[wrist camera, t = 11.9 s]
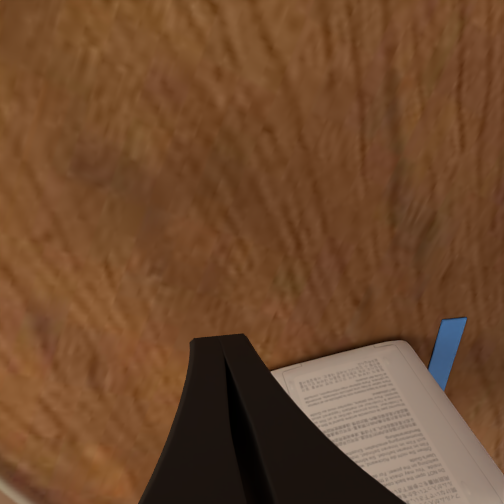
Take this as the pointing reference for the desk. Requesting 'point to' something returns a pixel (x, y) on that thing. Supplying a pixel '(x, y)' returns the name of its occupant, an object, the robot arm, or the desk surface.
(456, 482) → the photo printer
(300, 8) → the desk surface
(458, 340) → the tape marks
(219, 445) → the robot arm
